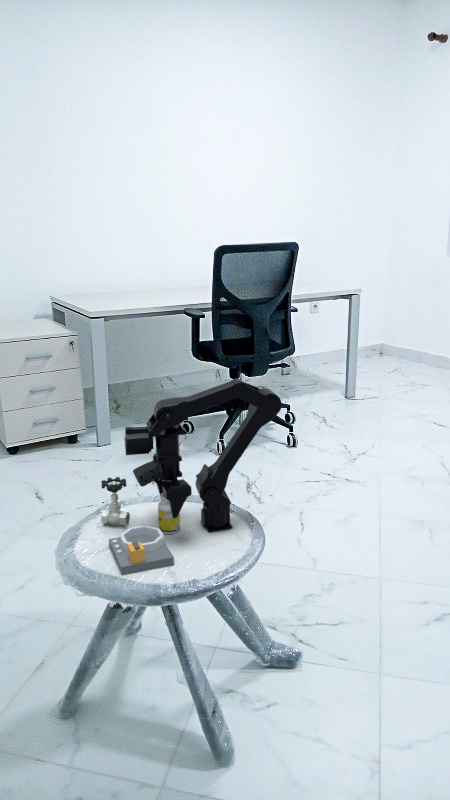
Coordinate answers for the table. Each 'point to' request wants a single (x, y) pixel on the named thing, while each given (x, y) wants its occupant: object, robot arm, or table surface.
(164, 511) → the supplement bottle
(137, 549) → the orange block
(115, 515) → the valve
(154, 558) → the octagon socket plate
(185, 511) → the table surface
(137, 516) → the table surface
